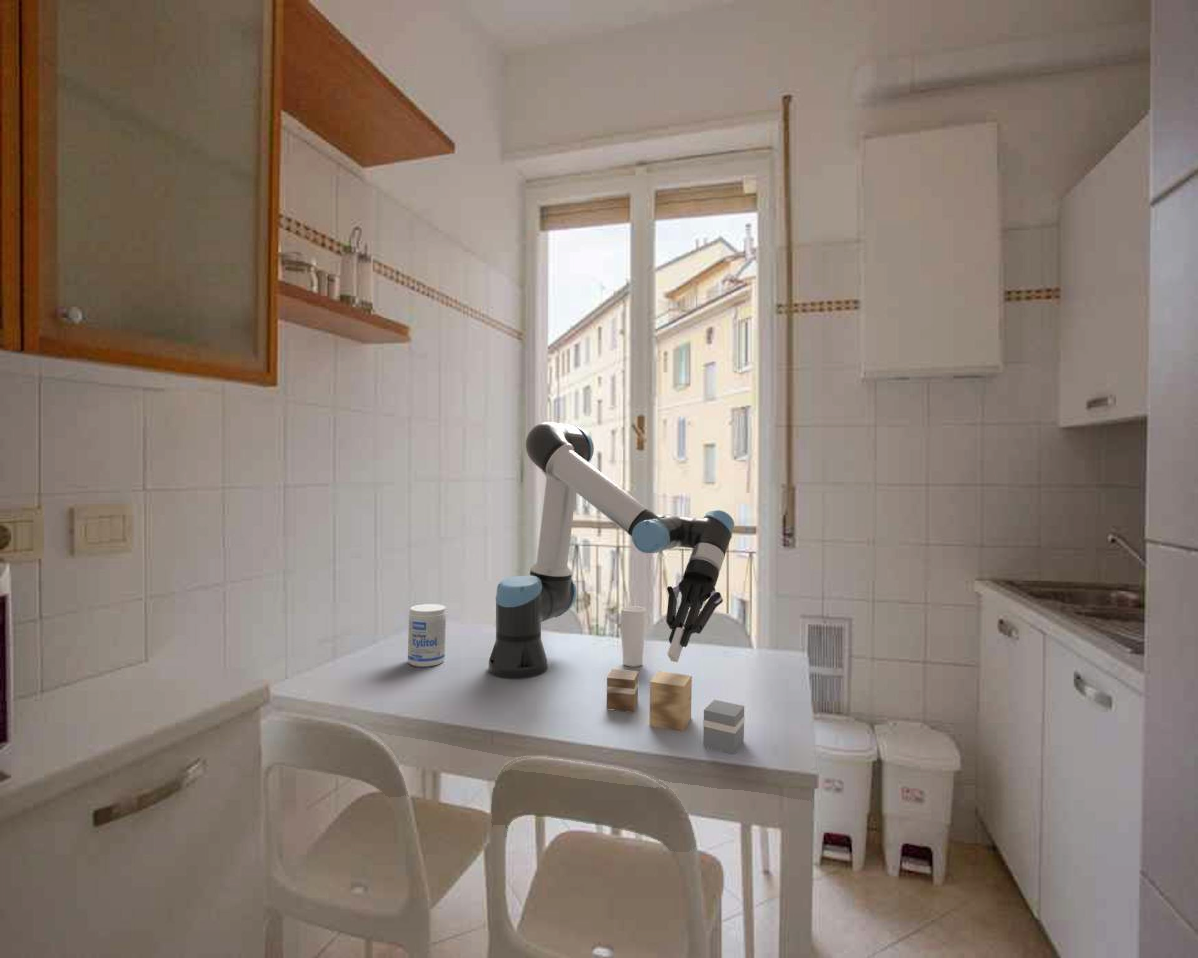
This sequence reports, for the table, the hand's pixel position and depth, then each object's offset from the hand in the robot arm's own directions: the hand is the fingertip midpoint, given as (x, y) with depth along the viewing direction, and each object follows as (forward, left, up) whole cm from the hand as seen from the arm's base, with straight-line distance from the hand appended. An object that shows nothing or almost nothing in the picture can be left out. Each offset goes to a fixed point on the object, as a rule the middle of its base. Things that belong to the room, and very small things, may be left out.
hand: (672, 658), depth 124 cm
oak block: (0, 0, -13) cm, 13 cm away
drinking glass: (-19, +32, -13) cm, 39 cm away
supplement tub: (-70, +11, -13) cm, 72 cm away
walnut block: (-12, +4, -13) cm, 18 cm away
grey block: (+12, -6, -13) cm, 19 cm away
